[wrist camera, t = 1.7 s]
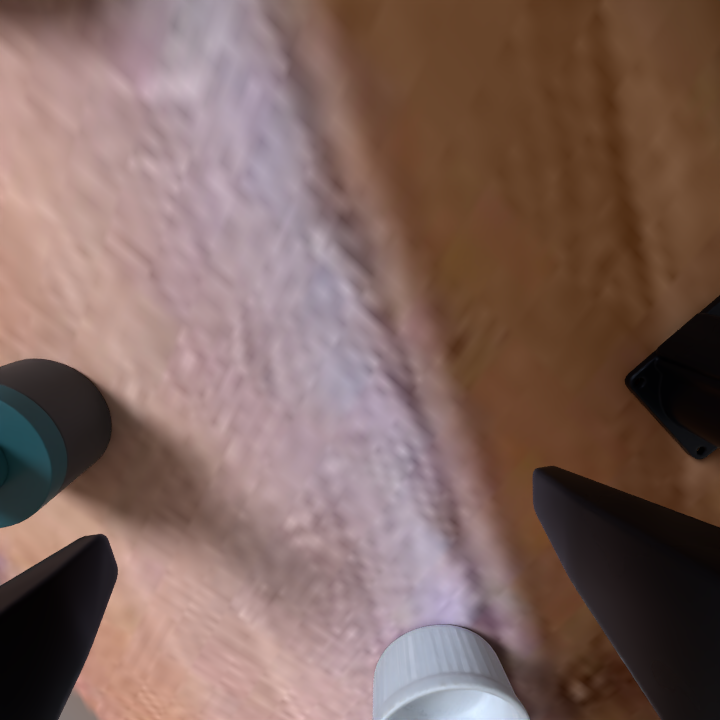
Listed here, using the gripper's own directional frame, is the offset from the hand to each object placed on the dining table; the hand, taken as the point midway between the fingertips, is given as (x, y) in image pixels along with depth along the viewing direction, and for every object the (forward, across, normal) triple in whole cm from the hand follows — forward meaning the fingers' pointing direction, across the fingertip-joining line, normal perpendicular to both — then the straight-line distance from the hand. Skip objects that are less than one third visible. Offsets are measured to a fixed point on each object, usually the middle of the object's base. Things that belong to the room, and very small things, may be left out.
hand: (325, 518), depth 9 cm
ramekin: (+12, -4, +21) cm, 25 cm away
